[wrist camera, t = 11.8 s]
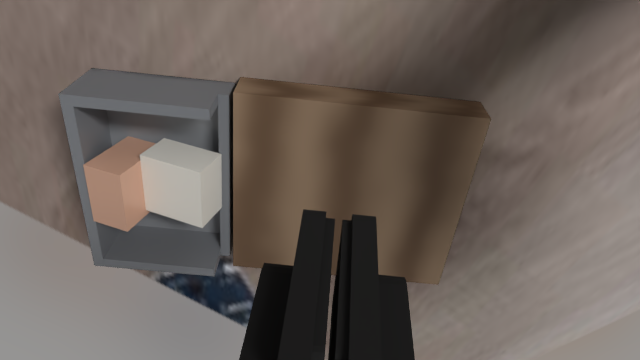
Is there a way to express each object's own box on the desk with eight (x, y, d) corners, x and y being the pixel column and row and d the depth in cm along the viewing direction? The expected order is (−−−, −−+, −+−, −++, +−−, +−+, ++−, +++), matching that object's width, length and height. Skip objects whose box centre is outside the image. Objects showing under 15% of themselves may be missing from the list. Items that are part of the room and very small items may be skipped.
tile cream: (221, 154, 36) (200, 172, 33) (221, 207, 39) (202, 228, 36) (164, 138, 37) (139, 154, 35) (168, 190, 40) (145, 210, 37)
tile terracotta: (119, 175, 33) (83, 164, 34) (127, 231, 36) (93, 221, 36) (161, 145, 37) (128, 135, 38) (165, 197, 40) (134, 188, 40)
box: (235, 83, 35) (221, 110, 31) (234, 238, 43) (224, 277, 39) (91, 68, 35) (58, 94, 31) (118, 227, 43) (94, 265, 39)
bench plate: (480, 101, 36) (491, 119, 33) (432, 261, 44) (438, 284, 42) (240, 77, 35) (233, 92, 33) (239, 243, 44) (233, 265, 41)
